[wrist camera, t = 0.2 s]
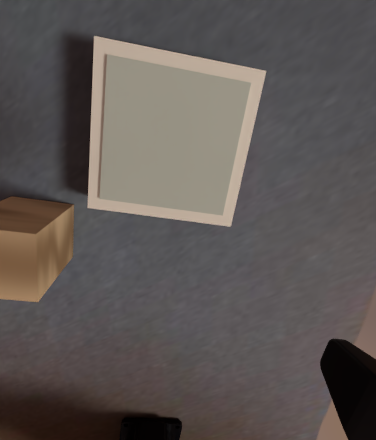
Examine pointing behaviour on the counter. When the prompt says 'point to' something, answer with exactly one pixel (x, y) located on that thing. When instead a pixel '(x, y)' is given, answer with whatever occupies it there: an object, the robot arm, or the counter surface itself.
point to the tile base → (169, 132)
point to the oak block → (33, 246)
